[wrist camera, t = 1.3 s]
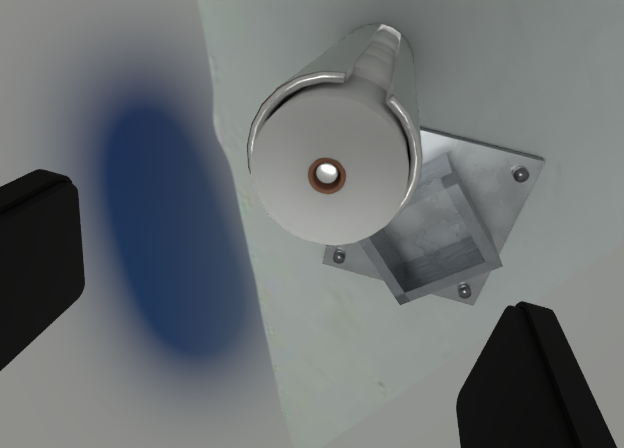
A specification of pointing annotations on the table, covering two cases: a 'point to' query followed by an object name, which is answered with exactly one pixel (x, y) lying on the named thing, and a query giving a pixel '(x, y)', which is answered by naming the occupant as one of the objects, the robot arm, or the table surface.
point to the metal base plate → (447, 221)
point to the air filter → (340, 140)
